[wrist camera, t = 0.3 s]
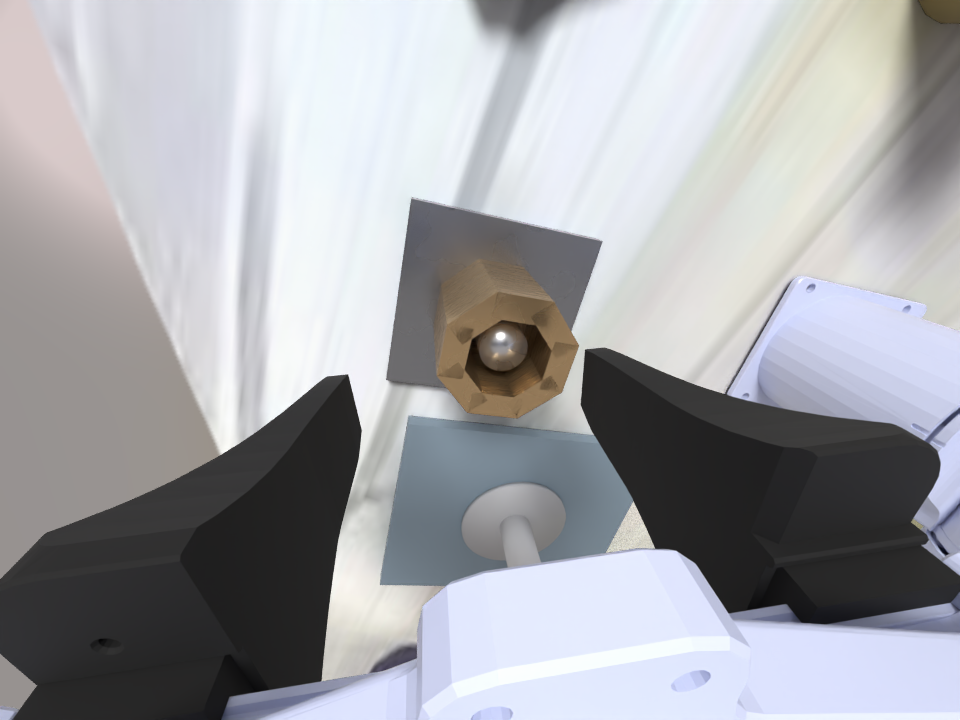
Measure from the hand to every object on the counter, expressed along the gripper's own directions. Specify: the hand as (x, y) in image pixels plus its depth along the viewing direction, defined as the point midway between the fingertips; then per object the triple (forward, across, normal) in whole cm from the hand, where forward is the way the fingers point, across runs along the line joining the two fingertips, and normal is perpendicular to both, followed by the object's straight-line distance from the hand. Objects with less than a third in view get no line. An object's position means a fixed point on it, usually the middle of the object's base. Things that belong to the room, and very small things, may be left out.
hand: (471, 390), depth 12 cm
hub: (+9, -3, +16) cm, 18 cm away
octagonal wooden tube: (+8, -2, +1) cm, 8 cm away
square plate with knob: (+9, -2, +1) cm, 9 cm away
